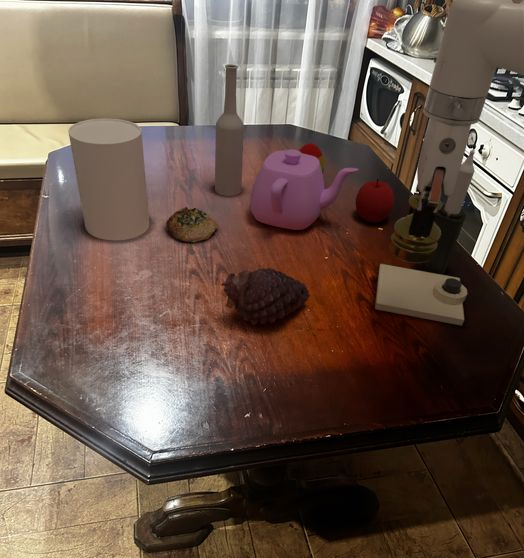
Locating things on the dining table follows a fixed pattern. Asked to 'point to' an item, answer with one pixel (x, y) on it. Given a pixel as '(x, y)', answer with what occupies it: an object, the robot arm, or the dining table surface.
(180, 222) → the bread roll
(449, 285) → the dark round knob center
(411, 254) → the brass cabinet knob
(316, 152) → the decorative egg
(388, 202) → the apple
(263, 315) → the pine cone
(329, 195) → the teapot
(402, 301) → the white base plate
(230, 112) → the bottle
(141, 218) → the canister
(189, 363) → the dining table surface
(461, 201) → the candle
